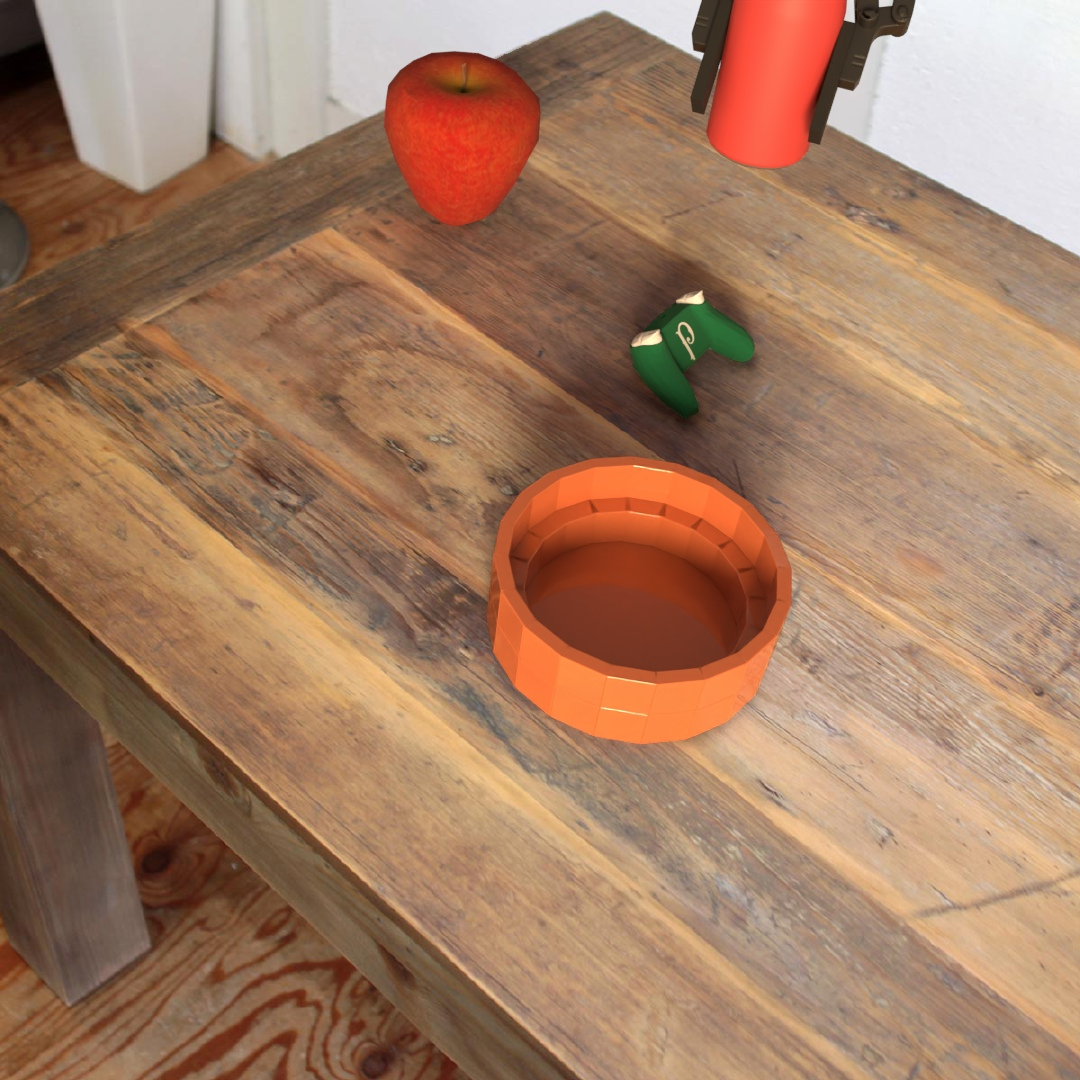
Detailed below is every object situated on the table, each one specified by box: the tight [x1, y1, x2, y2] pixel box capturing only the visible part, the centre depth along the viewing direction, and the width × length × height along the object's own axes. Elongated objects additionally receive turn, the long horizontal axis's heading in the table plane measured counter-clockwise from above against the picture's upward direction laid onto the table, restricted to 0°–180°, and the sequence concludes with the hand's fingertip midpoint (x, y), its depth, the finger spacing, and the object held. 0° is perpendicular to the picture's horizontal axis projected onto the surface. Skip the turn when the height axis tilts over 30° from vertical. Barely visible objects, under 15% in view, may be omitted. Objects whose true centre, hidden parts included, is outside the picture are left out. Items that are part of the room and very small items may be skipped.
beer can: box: [705, 0, 848, 171], centre depth 81 cm, size 7×7×12 cm
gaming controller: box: [629, 289, 756, 420], centre depth 88 cm, size 9×4×6 cm
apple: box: [383, 50, 542, 227], centre depth 95 cm, size 11×11×12 cm
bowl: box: [485, 455, 793, 745], centre depth 72 cm, size 16×16×6 cm
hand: (755, 120), depth 80 cm, fingers closed on beer can, 7 cm apart
